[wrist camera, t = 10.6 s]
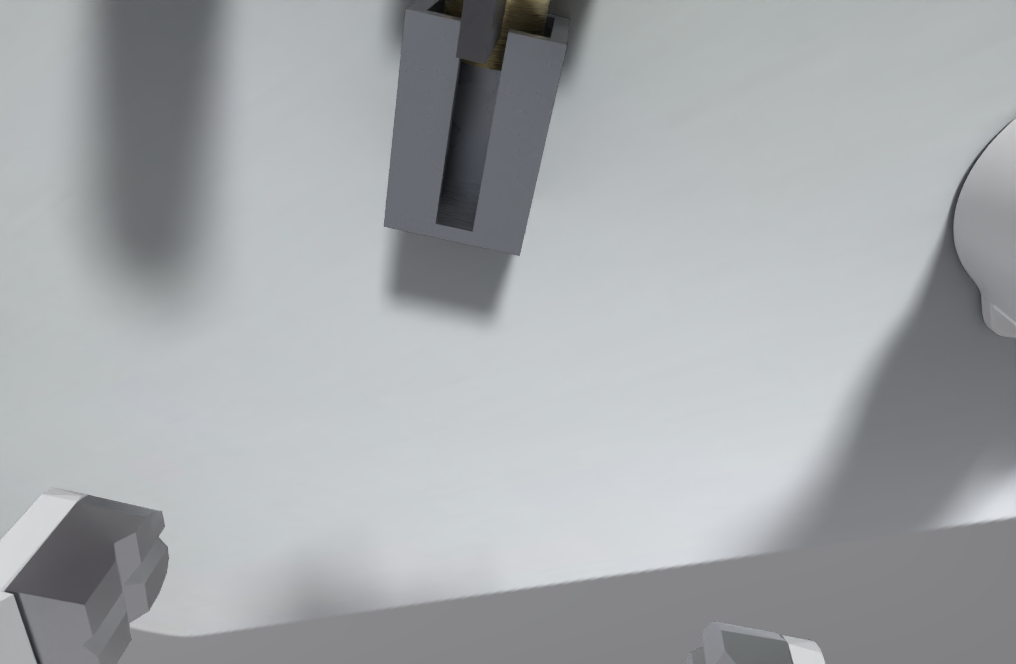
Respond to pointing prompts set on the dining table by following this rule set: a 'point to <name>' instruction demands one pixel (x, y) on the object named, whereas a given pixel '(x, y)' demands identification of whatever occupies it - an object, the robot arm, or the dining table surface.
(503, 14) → the tube
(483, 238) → the sleeve
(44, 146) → the dining table surface
